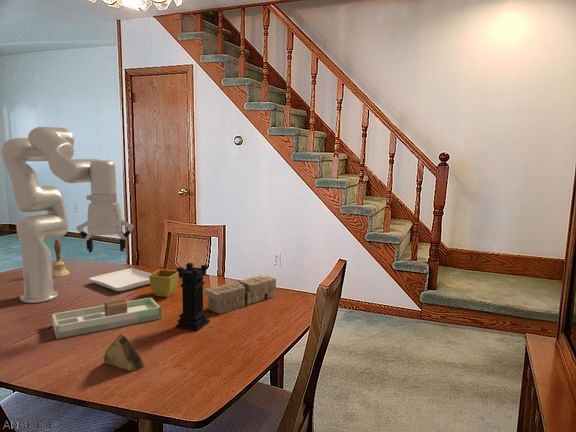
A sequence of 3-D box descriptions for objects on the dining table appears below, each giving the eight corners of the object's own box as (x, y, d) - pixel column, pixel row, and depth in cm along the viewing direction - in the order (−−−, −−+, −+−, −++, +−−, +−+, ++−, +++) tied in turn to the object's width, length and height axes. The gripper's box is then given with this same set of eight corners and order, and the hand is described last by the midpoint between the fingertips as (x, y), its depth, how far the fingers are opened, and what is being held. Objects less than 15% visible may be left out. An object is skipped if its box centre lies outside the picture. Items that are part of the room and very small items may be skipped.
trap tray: (52, 325, 144) (51, 313, 143) (151, 307, 161) (151, 297, 160) (56, 339, 134) (56, 326, 133) (161, 318, 151) (161, 307, 151)
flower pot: (169, 299, 170) (169, 277, 168) (149, 297, 171) (148, 275, 170) (179, 292, 178) (179, 270, 177) (159, 290, 180) (159, 269, 178)
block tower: (262, 294, 182) (203, 309, 161) (263, 274, 181) (203, 287, 160) (275, 299, 176) (216, 315, 155) (276, 278, 175) (217, 292, 154)
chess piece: (209, 322, 149) (209, 264, 146) (197, 331, 142) (196, 271, 139) (189, 318, 152) (188, 262, 149) (176, 327, 145) (175, 268, 141)
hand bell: (55, 278, 192) (53, 242, 190) (45, 275, 197) (43, 240, 194) (73, 274, 199) (71, 239, 196) (63, 270, 203) (61, 237, 201)
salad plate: (131, 274, 202) (131, 266, 202) (161, 283, 190) (161, 275, 189) (87, 285, 185) (87, 277, 185) (117, 296, 173) (117, 288, 172)
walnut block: (104, 313, 149) (104, 300, 149) (123, 310, 153) (122, 297, 152) (108, 319, 144) (107, 306, 144) (127, 316, 148) (127, 303, 147)
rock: (91, 356, 119) (103, 366, 111) (109, 327, 122) (121, 334, 114) (125, 370, 125) (139, 380, 117) (141, 341, 128) (155, 350, 120)
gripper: (72, 200, 136) (75, 254, 139) (130, 200, 140) (132, 252, 142) (78, 198, 144) (81, 249, 146) (134, 197, 147) (135, 247, 150)
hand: (106, 251), depth 144 cm, fingers open, 9 cm apart
